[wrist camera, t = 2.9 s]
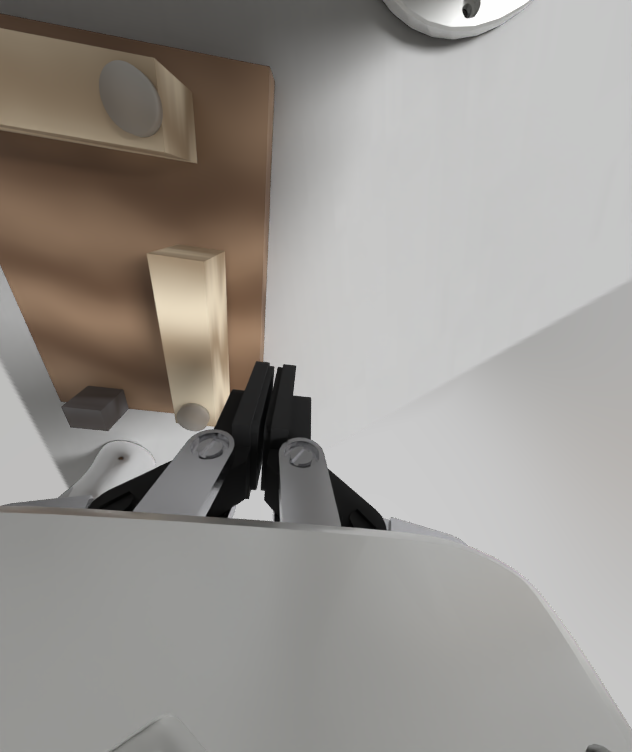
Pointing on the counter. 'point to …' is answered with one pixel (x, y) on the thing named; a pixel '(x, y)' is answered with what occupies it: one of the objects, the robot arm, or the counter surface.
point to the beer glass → (112, 468)
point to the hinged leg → (193, 330)
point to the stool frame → (127, 202)
